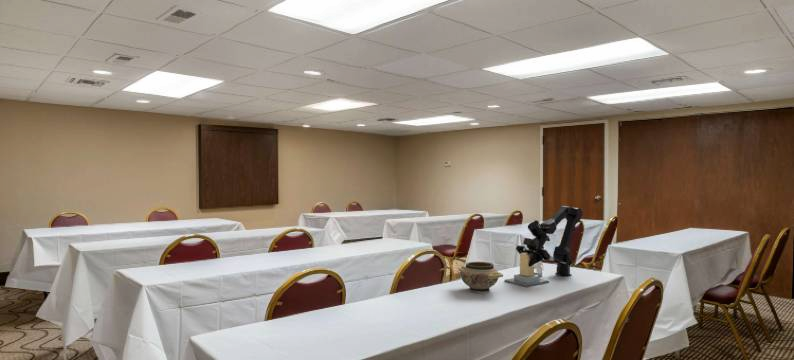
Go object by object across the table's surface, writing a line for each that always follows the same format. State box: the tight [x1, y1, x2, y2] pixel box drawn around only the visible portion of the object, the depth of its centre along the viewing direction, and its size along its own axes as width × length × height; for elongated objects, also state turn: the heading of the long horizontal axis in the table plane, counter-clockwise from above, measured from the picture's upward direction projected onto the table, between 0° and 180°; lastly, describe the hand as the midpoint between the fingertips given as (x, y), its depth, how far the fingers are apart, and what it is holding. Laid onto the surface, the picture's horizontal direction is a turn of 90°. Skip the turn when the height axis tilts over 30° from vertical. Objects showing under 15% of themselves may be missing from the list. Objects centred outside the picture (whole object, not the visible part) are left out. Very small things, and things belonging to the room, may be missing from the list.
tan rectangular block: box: [519, 253, 535, 277], centre depth 237 cm, size 5×5×12 cm
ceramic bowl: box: [457, 261, 504, 294], centre depth 219 cm, size 24×18×15 cm
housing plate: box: [504, 273, 550, 288], centre depth 237 cm, size 18×14×4 cm
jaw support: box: [534, 261, 544, 277], centre depth 257 cm, size 12×9×10 cm
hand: (525, 265), depth 236 cm, fingers closed on tan rectangular block, 5 cm apart
